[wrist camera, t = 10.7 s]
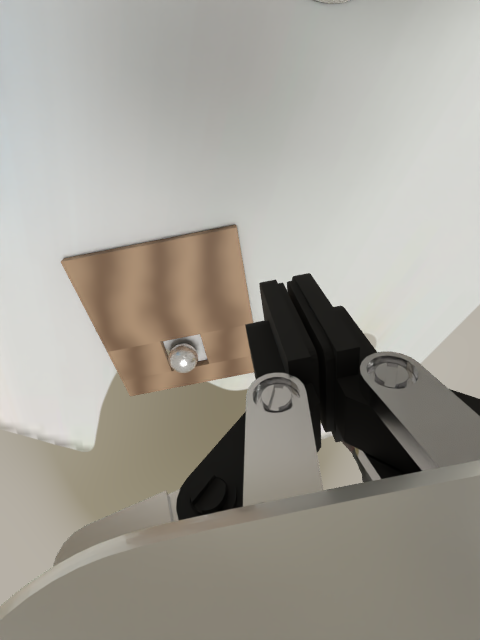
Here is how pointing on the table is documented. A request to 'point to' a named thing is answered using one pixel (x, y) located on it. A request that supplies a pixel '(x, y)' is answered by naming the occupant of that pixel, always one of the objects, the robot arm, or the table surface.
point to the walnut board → (168, 306)
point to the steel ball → (183, 358)
